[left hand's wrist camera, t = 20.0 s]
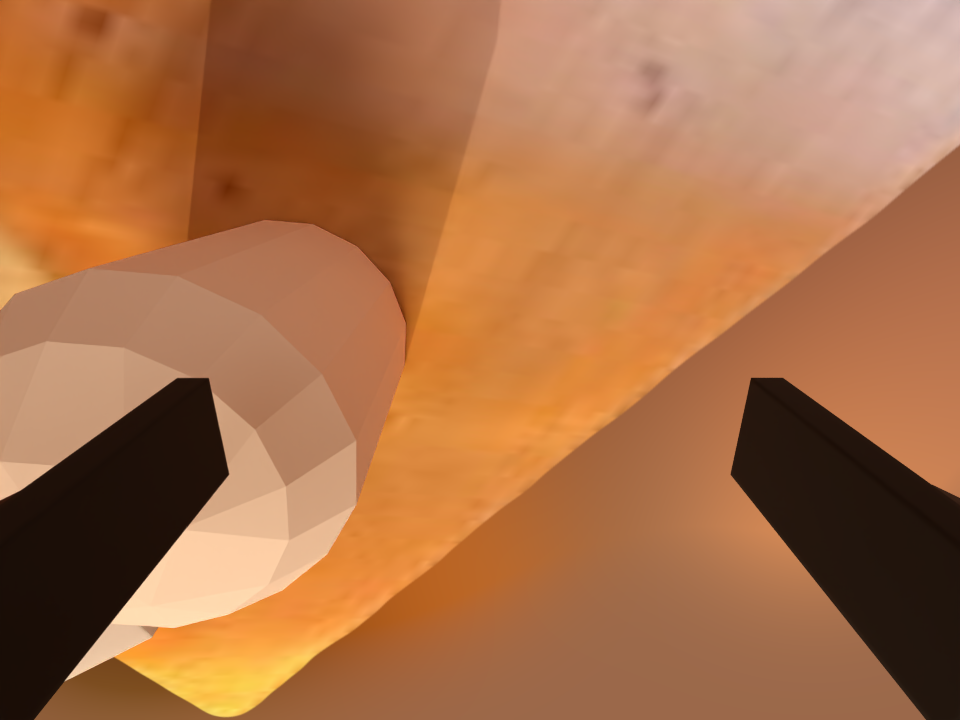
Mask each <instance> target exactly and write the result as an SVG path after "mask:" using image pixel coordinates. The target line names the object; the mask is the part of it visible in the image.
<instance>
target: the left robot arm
mask: <svg viewBox="0 0 960 720" xmlns="http://www.w3.org/2000/svg"><path fill="white" fill-rule="evenodd" d="M228 476H229V470H228V466H227V461H226V456H225V451H224V447H223V442H222V437H221V433H220V428H219V423H218V419H217V414H216V409H215V404H214V400H213V395H212V390H211V386H210V381H209V378H176V379H175V380H174V381H172V382H171V383H169V384H168V385H167V386H165V387H164V388H162V389H161V390H160V391H158V392H157V393H155V394H154V395H153V396H151V397H150V398H149V399H147V400H146V401H144V402H143V403H142V404H140V405H139V406H137V407H136V408H135V409H133V410H132V411H130V412H129V413H128V414H126V415H125V416H123V417H122V418H121V419H119V420H118V421H117V422H115V423H114V424H112V425H111V426H110V427H108V428H107V429H105V430H104V431H103V432H101V433H100V434H98V435H97V436H96V437H94V438H93V439H91V440H90V441H89V442H87V443H86V444H85V445H83V446H82V447H80V448H79V449H78V450H76V451H75V452H73V453H72V454H71V455H69V456H68V457H66V458H65V459H64V460H62V461H61V462H59V463H58V464H57V465H55V466H54V467H52V468H51V469H50V470H48V471H47V472H46V473H44V474H43V475H41V476H40V477H39V478H37V479H36V480H34V481H33V482H32V483H30V484H29V485H27V486H26V487H25V488H23V489H22V490H20V491H18V492H16V493H14V494H12V495H10V496H8V497H6V498H4V499H2V500H0V720H34V719H35V718H36V716H37V715H38V714H39V713H40V711H41V710H42V709H43V708H44V706H45V705H46V704H47V703H48V701H49V700H50V699H51V698H52V696H53V695H54V694H55V693H56V691H57V690H58V689H59V687H60V686H61V685H62V684H63V683H64V681H65V680H66V679H67V678H68V676H69V675H70V674H71V672H72V671H73V670H74V669H75V667H76V666H77V665H78V664H79V662H80V661H81V660H82V659H83V657H84V656H85V655H86V654H87V652H88V651H89V650H90V649H91V647H92V646H93V645H94V644H95V642H96V641H97V640H98V639H99V637H100V636H101V635H102V634H103V632H104V631H105V630H106V629H107V627H108V626H109V625H110V624H111V622H112V621H113V620H114V619H115V617H116V616H117V615H118V614H119V612H120V611H121V610H122V609H123V607H124V606H125V605H126V604H127V602H128V601H129V600H130V599H131V597H132V596H133V595H134V594H135V592H136V591H137V590H138V588H139V587H140V586H141V585H142V583H143V582H144V581H145V580H146V578H147V577H148V576H149V575H150V573H151V572H152V571H153V570H154V568H155V567H156V566H157V565H158V563H159V562H160V561H161V560H162V558H163V557H164V556H165V555H166V553H167V552H168V551H169V550H170V548H171V547H172V546H173V545H174V543H175V542H176V541H177V540H178V538H179V537H180V536H181V535H182V533H183V532H184V531H185V530H186V528H187V527H188V526H189V525H190V523H191V522H192V521H193V520H194V518H195V517H196V516H197V515H198V513H199V512H200V511H201V509H202V508H203V507H204V506H205V504H206V503H207V502H208V501H209V499H210V498H211V497H212V496H213V494H214V493H215V492H216V491H217V489H218V488H219V487H220V486H221V484H222V483H223V482H224V481H225V479H226V478H227V477H228ZM731 476H732V477H733V478H734V479H735V481H736V482H737V483H738V484H739V486H740V487H741V488H742V489H743V491H744V492H745V493H746V494H747V496H748V497H749V498H750V499H751V501H752V502H753V503H754V504H755V506H756V507H757V508H758V509H759V511H760V512H761V513H762V515H763V516H764V517H765V518H766V520H767V521H768V522H769V523H770V525H771V526H772V527H773V528H774V530H775V531H776V532H777V533H778V535H779V536H780V537H781V538H782V540H783V541H784V542H785V543H786V545H787V546H788V547H789V548H790V550H791V551H792V552H793V553H794V555H795V556H796V557H797V558H798V560H799V561H800V562H801V563H802V565H803V566H804V567H805V568H806V570H807V571H808V572H809V573H810V575H811V576H812V577H813V578H814V580H815V581H816V582H817V583H818V585H819V586H820V587H821V588H822V590H823V591H824V592H825V593H826V595H827V596H828V597H829V598H830V600H831V601H832V602H833V603H834V605H835V606H836V607H837V608H838V610H839V611H840V612H841V614H842V615H843V616H844V617H845V619H846V620H847V621H848V622H849V624H850V625H851V626H852V627H853V629H854V630H855V631H856V632H857V634H858V635H859V636H860V637H861V639H862V640H863V641H864V642H865V644H866V645H867V646H868V647H869V649H870V650H871V651H872V652H873V654H874V655H875V656H876V657H877V659H878V660H879V661H880V662H881V664H882V665H883V666H884V667H885V669H886V670H887V671H888V672H889V674H890V675H891V676H892V678H893V679H894V680H895V681H896V683H897V684H898V685H899V686H900V688H901V689H902V690H903V691H904V692H905V694H906V695H907V696H908V698H909V699H910V700H911V701H912V703H913V704H914V705H915V706H916V708H917V709H918V710H919V711H920V713H921V714H922V715H923V716H924V718H925V719H926V720H960V498H959V497H957V496H955V495H952V494H950V493H948V492H946V491H944V490H942V489H940V488H938V487H936V486H934V485H931V484H930V483H928V482H927V481H926V480H924V479H923V478H921V477H920V476H919V475H917V474H916V473H914V472H913V471H912V470H910V469H909V468H908V467H906V466H905V465H903V464H902V463H901V462H899V461H898V460H896V459H895V458H893V457H892V456H891V455H889V454H888V453H887V452H885V451H884V450H882V449H881V448H880V447H878V446H877V445H875V444H874V443H873V442H871V441H870V440H869V439H867V438H866V437H864V436H863V435H862V434H860V433H859V432H857V431H856V430H855V429H853V428H852V427H850V426H849V425H848V424H846V423H845V422H843V421H842V420H841V419H839V418H838V417H837V416H835V415H834V414H832V413H831V412H830V411H828V410H827V409H825V408H824V407H823V406H821V405H820V404H818V403H817V402H816V401H814V400H813V399H811V398H810V397H809V396H807V395H806V394H805V393H803V392H802V391H800V390H799V389H798V388H796V387H795V386H793V385H792V384H791V383H789V382H788V381H786V380H785V379H784V378H751V381H750V386H749V390H748V395H747V400H746V404H745V409H744V414H743V419H742V423H741V428H740V433H739V437H738V442H737V447H736V451H735V456H734V461H733V466H732V470H731Z"/></svg>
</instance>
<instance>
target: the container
mask: <svg viewBox="0 0 960 720" xmlns="http://www.w3.org/2000/svg"><path fill="white" fill-rule="evenodd" d="M405 339H406V322H405V320H404V317H403V315H402V312H401V309H400V307H399V304H398V302H397V299H396V296H395V294H394V291H393V289H392V286H391V283H390V282H389V280H388V279H387V278H386V277H385V276H384V275H383V274H382V273H381V272H380V271H379V270H378V268H377V267H376V266H375V265H374V264H373V263H372V262H371V261H370V260H369V259H368V257H367V256H366V255H365V254H364V253H363V252H362V251H361V250H360V249H359V248H358V247H357V246H355V245H353V244H352V243H350V242H348V241H346V240H344V239H342V238H340V237H338V236H336V235H334V234H332V233H330V232H328V231H326V230H324V229H322V228H320V227H318V226H316V225H314V224H306V223H295V222H284V221H272V220H262V221H259V222H255V223H252V224H248V225H244V226H241V227H237V228H234V229H230V230H226V231H223V232H219V233H216V234H212V235H208V236H205V237H201V238H197V239H194V240H190V241H187V242H183V243H179V244H176V245H172V246H169V247H165V248H161V249H158V250H154V251H150V252H147V253H143V254H140V255H136V256H132V257H129V258H125V259H122V260H118V261H114V262H111V263H107V264H104V265H100V266H96V267H93V268H89V269H86V270H83V271H80V272H77V273H75V274H72V275H69V276H66V277H63V278H60V279H57V280H54V281H51V282H48V283H46V284H43V285H40V286H37V287H34V288H31V289H28V290H25V291H22V292H19V293H17V294H15V295H14V296H13V297H12V298H11V299H10V300H9V301H8V303H7V304H6V305H5V306H4V307H3V308H2V309H1V310H0V500H2V499H4V498H6V497H8V496H10V495H12V494H14V493H16V492H18V491H20V490H22V489H23V488H25V487H26V486H27V485H29V484H30V483H32V482H33V481H34V480H36V479H37V478H39V477H40V476H41V475H43V474H44V473H46V472H47V471H48V470H50V469H51V468H52V467H54V466H55V465H57V464H58V463H59V462H61V461H62V460H64V459H65V458H66V457H68V456H69V455H71V454H72V453H73V452H75V451H76V450H78V449H79V448H80V447H82V446H83V445H85V444H86V443H87V442H89V441H90V440H91V439H93V438H94V437H96V436H97V435H98V434H100V433H101V432H103V431H104V430H105V429H107V428H108V427H110V426H111V425H112V424H114V423H115V422H117V421H118V420H119V419H121V418H122V417H123V416H125V415H126V414H128V413H129V412H130V411H132V410H133V409H135V408H136V407H137V406H139V405H140V404H142V403H143V402H144V401H146V400H147V399H149V398H150V397H151V396H153V395H154V394H155V393H157V392H158V391H160V390H161V389H162V388H164V387H165V386H167V385H168V384H169V383H171V382H172V381H174V380H175V379H176V378H209V381H210V386H211V390H212V395H213V400H214V404H215V409H216V414H217V419H218V423H219V428H220V433H221V437H222V442H223V447H224V451H225V456H226V461H227V466H228V470H229V476H228V477H227V478H226V479H225V481H224V482H223V483H222V484H221V486H220V487H219V488H218V489H217V491H216V492H215V493H214V494H213V496H212V497H211V498H210V499H209V501H208V502H207V503H206V504H205V506H204V507H203V508H202V509H201V511H200V512H199V513H198V515H197V516H196V517H195V518H194V520H193V521H192V522H191V523H190V525H189V526H188V527H187V528H186V530H185V531H184V532H183V533H182V535H181V536H180V537H179V538H178V540H177V541H176V542H175V543H174V545H173V546H172V547H171V548H170V550H169V551H168V552H167V553H166V555H165V556H164V557H163V558H162V560H161V561H160V562H159V563H158V565H157V566H156V567H155V568H154V570H153V571H152V572H151V573H150V575H149V576H148V577H147V578H146V580H145V581H144V582H143V583H142V585H141V586H140V587H139V588H138V590H137V591H136V592H135V594H134V595H133V596H132V597H131V599H130V600H129V601H128V602H127V604H126V605H125V606H124V607H123V609H122V610H121V611H120V612H119V614H118V615H117V616H116V617H115V619H114V620H113V621H112V622H111V623H112V624H122V625H137V626H153V627H169V628H176V627H180V626H184V625H188V624H192V623H196V622H200V621H204V620H208V619H212V618H216V617H220V616H224V615H228V614H230V613H232V612H234V611H237V610H239V609H241V608H244V607H246V606H248V605H250V604H253V603H255V602H257V601H259V600H262V599H264V598H266V597H268V596H271V595H273V594H275V593H277V592H280V591H282V590H283V589H285V588H286V587H287V586H288V585H289V584H291V583H292V582H293V581H294V580H296V579H297V578H298V577H299V576H301V575H302V574H303V573H304V572H306V571H307V570H308V569H309V568H311V567H312V566H313V565H314V564H316V563H317V562H318V561H319V560H321V559H322V558H323V557H324V556H326V555H327V554H328V552H329V550H330V548H331V547H332V545H333V543H334V542H335V540H336V538H337V537H338V535H339V533H340V531H341V530H342V528H343V526H344V525H345V523H346V521H347V520H348V518H349V516H350V514H351V513H352V511H353V509H354V508H355V506H356V504H357V501H358V498H359V495H360V492H361V490H362V487H363V484H364V481H365V478H366V475H367V472H368V469H369V466H370V464H371V461H372V458H373V455H374V452H375V449H376V446H377V443H378V440H379V437H380V435H381V432H382V429H383V426H384V423H385V420H386V417H387V414H388V411H389V408H390V406H391V403H392V400H393V397H394V394H395V391H396V388H397V385H398V382H399V380H400V377H401V374H402V371H403V368H404V365H405Z"/></svg>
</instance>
